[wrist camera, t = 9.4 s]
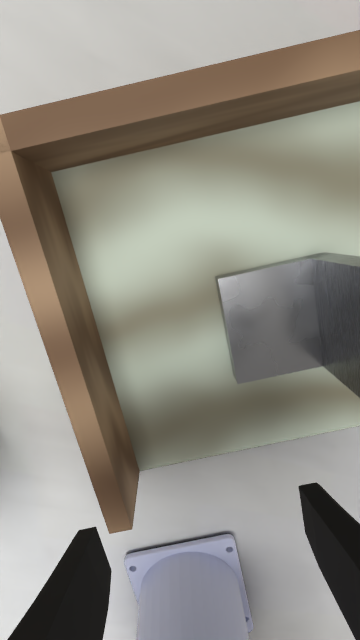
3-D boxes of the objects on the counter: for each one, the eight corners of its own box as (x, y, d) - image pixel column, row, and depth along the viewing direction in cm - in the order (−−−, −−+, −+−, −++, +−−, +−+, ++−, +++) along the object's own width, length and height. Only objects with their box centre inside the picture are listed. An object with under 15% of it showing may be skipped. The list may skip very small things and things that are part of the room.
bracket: (323, 252, 17) (400, 261, 12) (333, 354, 19) (406, 406, 13) (214, 276, 18) (236, 296, 12) (233, 375, 19) (261, 436, 13)
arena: (410, 406, 21) (483, 458, 16) (123, 466, 21) (109, 533, 17) (400, 68, 16) (500, -4, 11) (26, 155, 16) (-33, 122, 12)
